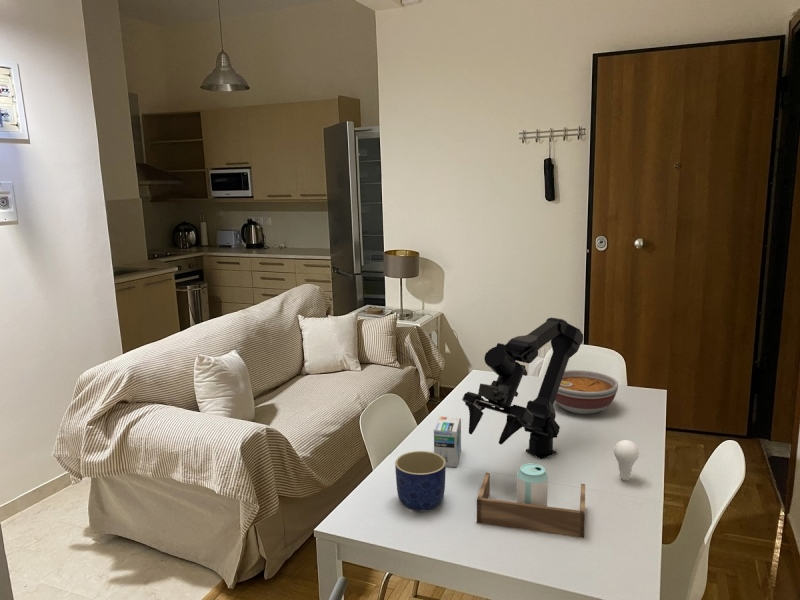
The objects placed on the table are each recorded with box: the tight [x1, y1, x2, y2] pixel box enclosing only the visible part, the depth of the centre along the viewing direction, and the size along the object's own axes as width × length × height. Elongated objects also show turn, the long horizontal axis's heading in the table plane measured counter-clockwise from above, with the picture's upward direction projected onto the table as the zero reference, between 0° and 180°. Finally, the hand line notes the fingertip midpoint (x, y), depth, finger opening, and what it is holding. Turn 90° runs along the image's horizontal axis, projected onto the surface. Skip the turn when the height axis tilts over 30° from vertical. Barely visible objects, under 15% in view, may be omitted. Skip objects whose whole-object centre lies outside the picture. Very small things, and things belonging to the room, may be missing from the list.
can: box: [516, 462, 549, 506], centre depth 145 cm, size 7×7×12 cm
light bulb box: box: [433, 415, 462, 468], centre depth 175 cm, size 11×7×11 cm, turn 168°
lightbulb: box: [613, 439, 640, 481], centre depth 160 cm, size 6×6×11 cm
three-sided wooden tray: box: [476, 471, 586, 539], centre depth 146 cm, size 14×24×6 cm, turn 73°
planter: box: [394, 450, 447, 512], centre depth 152 cm, size 12×12×11 cm
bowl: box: [554, 369, 619, 415], centre depth 209 cm, size 23×23×10 cm
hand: (484, 438), depth 155 cm, fingers open, 9 cm apart
